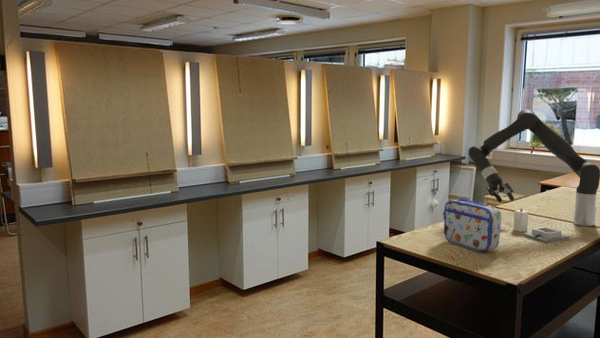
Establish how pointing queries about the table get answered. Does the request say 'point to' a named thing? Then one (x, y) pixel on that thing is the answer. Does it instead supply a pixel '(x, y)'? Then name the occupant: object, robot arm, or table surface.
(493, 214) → the lunch box
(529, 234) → the charging dock
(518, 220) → the block
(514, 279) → the table surface
